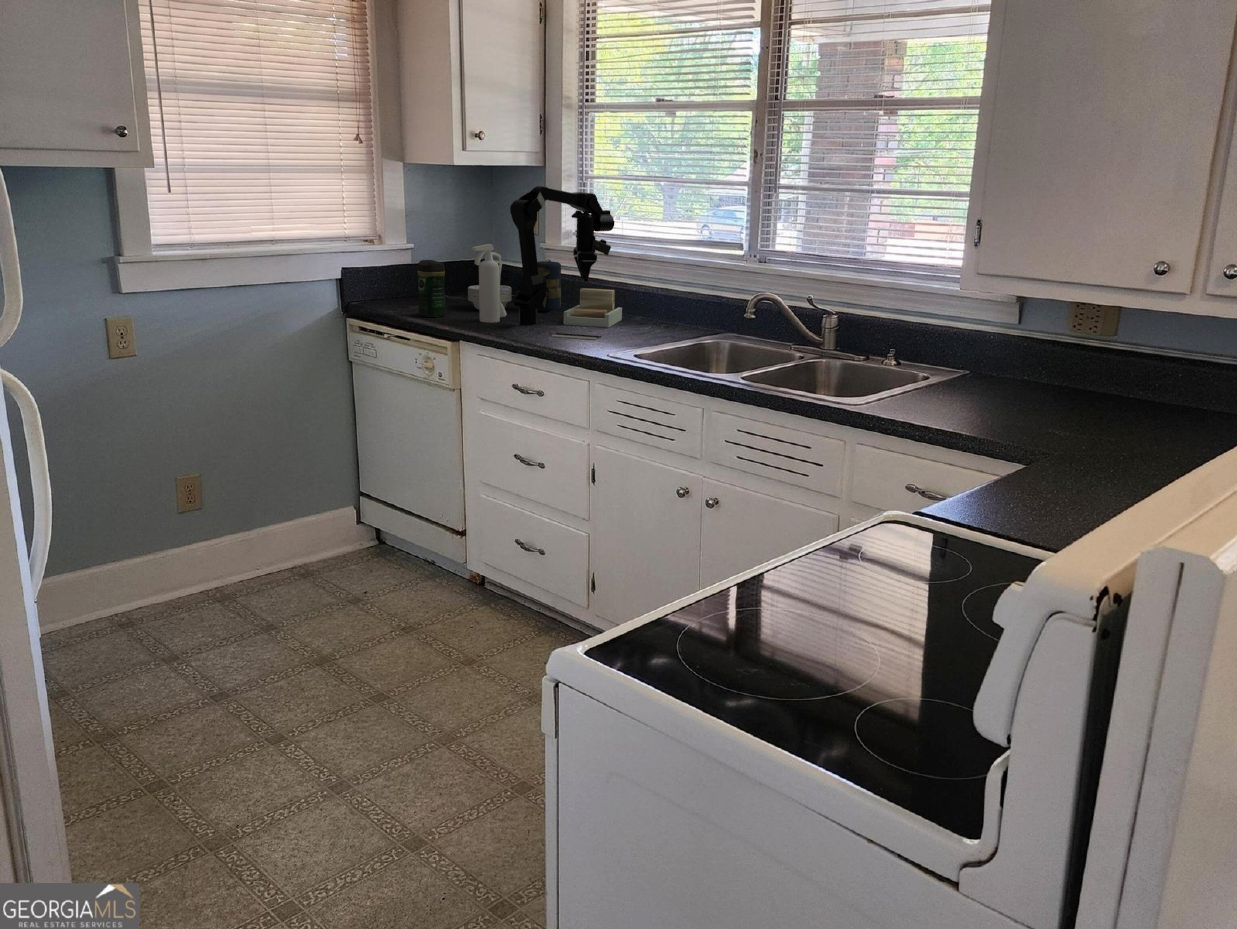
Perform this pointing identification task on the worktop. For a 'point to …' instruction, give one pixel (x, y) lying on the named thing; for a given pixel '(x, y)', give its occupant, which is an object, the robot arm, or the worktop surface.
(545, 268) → the canister
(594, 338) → the grey mat
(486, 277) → the fire extinguisher
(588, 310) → the offcut stack
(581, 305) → the tan wooden block
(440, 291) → the coffee jar
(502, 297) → the paper bowls
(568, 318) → the rack
